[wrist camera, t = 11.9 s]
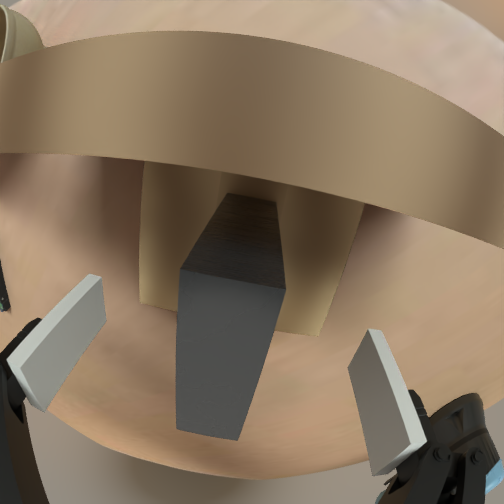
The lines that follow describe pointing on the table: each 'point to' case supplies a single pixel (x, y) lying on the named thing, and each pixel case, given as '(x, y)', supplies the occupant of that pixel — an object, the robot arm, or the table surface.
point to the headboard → (256, 146)
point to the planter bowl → (17, 35)
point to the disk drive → (3, 293)
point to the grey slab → (227, 315)
